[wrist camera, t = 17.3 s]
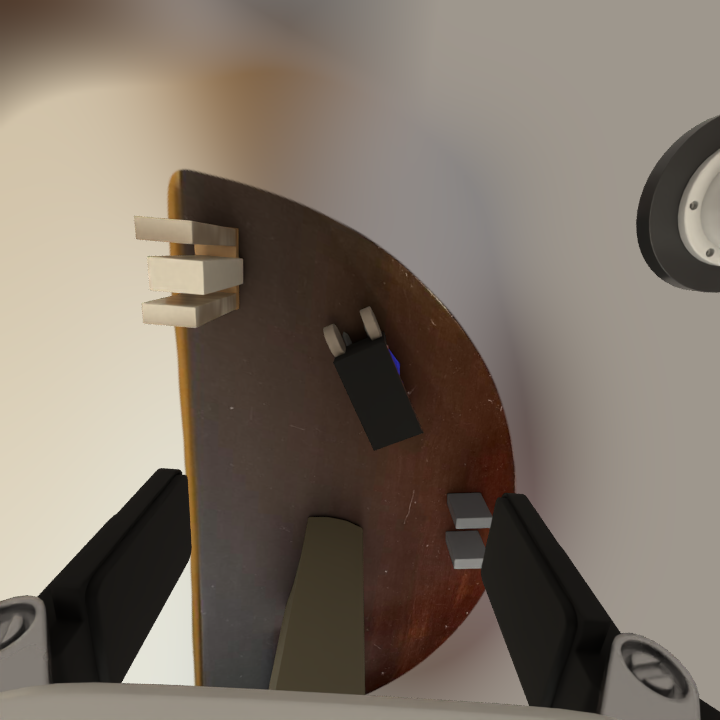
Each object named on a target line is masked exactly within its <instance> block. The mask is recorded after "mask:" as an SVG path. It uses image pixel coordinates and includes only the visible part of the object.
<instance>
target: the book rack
mask: <svg viewBox="0 0 720 720" xmlns="http://www.w3.org/2000/svg"><path fill="white" fill-rule="evenodd" d="M134 221H135V232H136V239H139V240H150V241H162V242H173V243H185V244H195V255H207V256H219V257H230V258H239V235H238V228H231V227H222V226H217V225H211V224H206V223H200V222H195V221H187V220H176V219H165V218H153V217H142V216H134ZM237 309H239V285H237V286H234V287H230V288H226V289H223V290H219V291H216V292H212V293H208V294H205V295H199V294H187V293H182V294H178V295H174V296H170V297H166V298H161V299H157V300H153V301H149V302H144V303H142V312H143V313H142V314H143V323H144V324H156V325H168V326H180V327H192V328H197V327H199V326H201V325H203V324H205V323H207V322H209V321H212V320H214V319H216V318H218V317H220V316H222V315H224V314H226V313H229V312H231V311H233V310H237Z"/></svg>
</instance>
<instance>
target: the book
mask: <svg viewBox="0 0 720 720" xmlns="http://www.w3.org/2000/svg"><path fill="white" fill-rule="evenodd" d="M269 690H282V691H300V692H318V693H336V694H353V695H365V668H364V593H363V528H361V527H359V526H356V525H354V524H352V523H350V522H347V521H344V520H340V519H335V518H330V517H308V522H307V527H306V532H305V538H304V543H303V548H302V553H301V557H300V561H299V564H298V568H297V572H296V576H295V580H294V584H293V587H292V590H291V593H290V595H289V598H288V601H287V604H286V608H285V612H284V617H283V622H282V627H281V632H280V637H279V641H278V646H277V651H276V656H275V661H274V666H273V671H272V675H271V680H270V685H269Z"/></svg>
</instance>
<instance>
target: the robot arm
mask: <svg viewBox="0 0 720 720" xmlns="http://www.w3.org/2000/svg"><path fill="white" fill-rule="evenodd" d="M678 229H679V233H680V237H681V240H682V242H683V244H684V246H685V247H686V249H687V250H688V251H689V252H690V253H691V255H693V256H694V257H695V258H697V259H698V260H700V261H702V262H704V263H707V264H710V265H716V266H720V149H718V150H717V151H716V152H715V153H713V154H712V155H711V156H709V157H708V158H707V159H706V160H705V161H704V162H703V163H702V164H701V165H700V166H699V167H698V169H697V170H696V171H695V173H694V174H693V176H692V177H691V178H690V180H689V182H688V184H687V186H686V188H685V190H684V192H683V195H682V198H681V201H680V205H679V211H678ZM191 548H192V546H191V529H190V511H189V494H188V479H187V476H186V475H182V472H181V470H179V469H165V468H161V469H158V470H157V471H156V472H155V473H154V474H153V475H152V476H151V477H150V478H149V480H148V481H147V482H146V483H145V484H144V485H143V486H142V487H141V488H140V489H139V490H138V491H137V492H136V494H135V495H134V496H133V497H132V498H131V499H130V500H129V501H128V502H127V503H126V504H125V505H124V507H123V508H122V509H121V510H120V511H119V512H118V513H117V514H116V515H114V516H113V517H112V518H111V519H110V520H109V521H108V522H107V523H106V524H105V525H104V526H103V527H102V528H101V529H100V530H99V531H98V533H96V535H95V536H94V537H93V538H92V539H91V540H90V541H89V542H88V543H87V544H86V545H85V546H84V547H83V549H81V551H80V552H79V553H78V554H77V555H76V556H75V557H74V558H73V559H72V560H71V561H70V562H69V564H68V565H67V566H66V567H65V568H64V569H63V570H62V571H61V572H60V573H59V574H58V575H57V576H56V577H55V578H54V580H53V581H52V582H51V583H50V584H49V585H48V586H47V587H46V588H45V589H44V590H43V592H42V593H40V595H39V596H38V597H35V596H28V595H26V596H18V597H13V598H10V599H6V600H3V601H0V720H720V712H719V711H718V710H716V709H715V708H713V707H711V706H710V705H709V704H707V703H705V702H704V701H702V700H701V699H699V693H698V690H697V686H696V683H695V682H694V680H693V678H692V676H691V675H690V673H689V672H688V670H687V669H686V668H685V667H684V666H683V665H682V664H681V662H680V661H679V660H678V659H677V658H676V657H674V656H673V655H672V654H671V653H670V652H669V651H668V650H666V649H665V648H663V647H662V646H660V645H659V644H657V643H656V642H654V641H652V640H650V639H648V638H646V637H644V636H641V635H637V634H633V633H620V631H619V630H618V628H617V627H616V626H615V624H614V623H613V621H612V620H611V618H610V617H609V615H608V614H607V612H606V611H605V610H604V608H603V607H602V605H601V604H600V602H599V601H598V599H597V598H596V596H595V595H594V593H593V592H592V591H591V589H590V588H589V586H588V585H587V583H586V582H585V580H584V579H583V577H582V576H581V575H580V573H579V572H578V570H577V569H576V567H575V566H574V564H573V563H572V561H571V560H570V559H569V557H568V555H567V554H566V553H565V551H564V550H563V549H562V547H561V546H560V545H559V544H558V542H557V541H556V539H555V538H554V536H553V535H552V533H551V532H550V530H549V529H548V528H547V526H546V525H545V523H544V522H543V520H542V519H541V517H540V516H539V514H538V513H537V511H536V510H535V508H534V507H533V505H532V504H531V503H530V501H529V500H528V498H527V497H526V496H525V495H524V494H514V493H504V494H503V495H502V498H500V497H499V498H497V500H496V504H495V508H494V513H493V517H492V522H491V526H490V530H489V535H488V539H487V544H486V548H485V553H484V557H483V562H482V566H481V576H482V581H483V584H484V586H485V589H486V591H487V594H488V597H489V599H490V602H491V605H492V608H493V610H494V613H495V616H496V618H497V621H498V624H499V626H500V629H501V632H502V634H503V637H504V639H505V642H506V645H507V648H508V650H509V653H510V656H511V658H512V661H513V664H514V666H515V669H516V672H517V674H518V677H519V680H520V682H521V685H522V688H523V690H524V693H525V695H526V698H527V701H528V704H529V706H522V705H510V704H498V703H483V702H467V701H451V700H435V699H418V698H404V697H387V696H369V695H353V694H336V693H318V692H300V691H282V690H263V689H243V688H223V687H203V686H183V685H182V686H181V685H163V684H162V685H161V684H130V683H127V684H126V683H122V681H123V679H124V677H125V675H126V673H127V672H128V670H129V668H130V666H131V664H132V663H133V661H134V659H135V657H136V655H137V654H138V652H139V650H140V648H141V646H142V645H143V642H144V641H145V639H146V637H147V635H148V634H149V632H150V630H151V628H152V626H153V624H154V623H155V621H156V619H157V617H158V615H159V614H160V612H161V610H162V608H163V606H164V605H165V603H166V601H167V599H168V597H169V596H170V594H171V592H172V590H173V588H174V586H175V585H176V583H177V581H178V579H179V577H180V576H181V574H182V572H183V570H184V568H185V566H186V564H187V563H188V561H189V558H190V555H191Z"/></svg>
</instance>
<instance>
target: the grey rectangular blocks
mask: <svg viewBox="0 0 720 720" xmlns="http://www.w3.org/2000/svg"><path fill="white" fill-rule="evenodd" d="M447 504H448V507H449V510H450V513H451V516H452V519H453V522H454V524H455V527H456V529H467V528H490V526H491V522H492V515H491V513H490V511H489V509H488V507H487V505H486V503H485V501H484V499H483V497H482V495H481V493H455V494H447ZM446 543H447V546H448V550H449V553H450V556H451V560H452V563H453V567H454V569H469V568H481V566H482V562H483V557H484V553H485V546H484V544H483V542H482V539H481V537H480V535H479V532H478V531H451V532H446Z"/></svg>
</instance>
